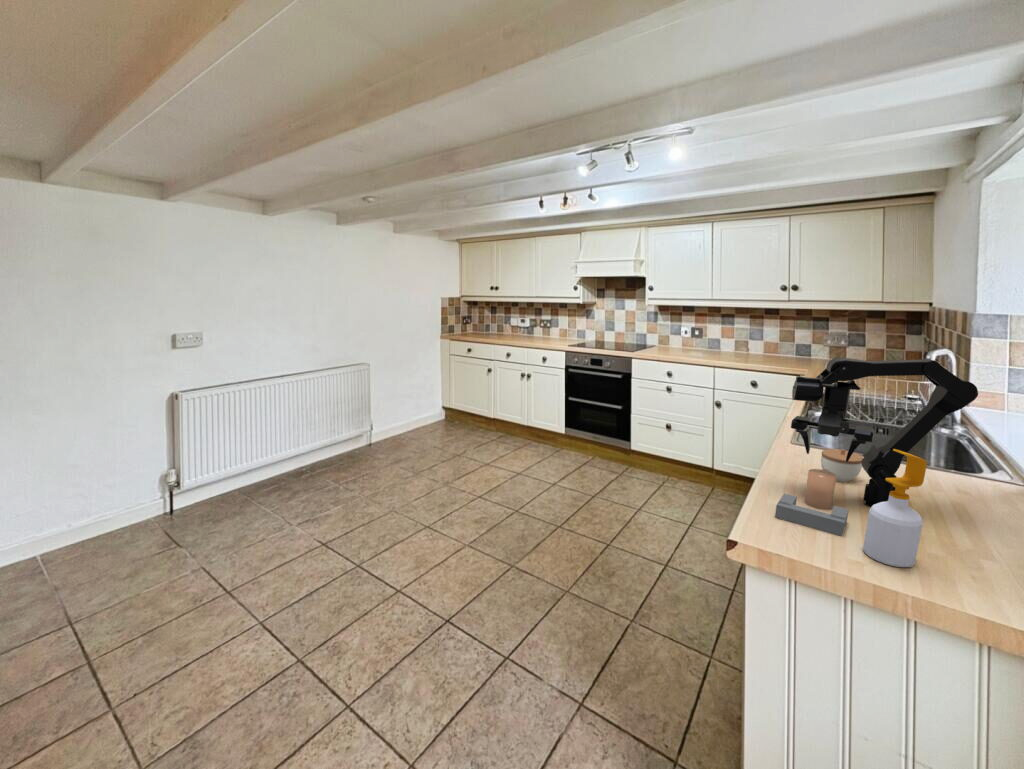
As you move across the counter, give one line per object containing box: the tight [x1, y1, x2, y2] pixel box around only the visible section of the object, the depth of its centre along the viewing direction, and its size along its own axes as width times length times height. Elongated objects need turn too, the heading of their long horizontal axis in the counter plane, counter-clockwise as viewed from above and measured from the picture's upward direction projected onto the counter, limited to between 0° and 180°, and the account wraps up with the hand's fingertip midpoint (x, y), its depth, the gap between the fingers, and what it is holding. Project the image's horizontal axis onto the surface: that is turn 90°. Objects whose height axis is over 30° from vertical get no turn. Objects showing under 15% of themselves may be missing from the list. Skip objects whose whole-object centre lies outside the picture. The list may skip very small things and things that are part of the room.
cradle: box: [774, 492, 849, 537], centre depth 119 cm, size 14×9×4 cm, turn 49°
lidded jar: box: [820, 448, 864, 483], centre depth 145 cm, size 11×11×9 cm
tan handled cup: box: [803, 468, 836, 511], centre depth 129 cm, size 6×10×9 cm, turn 139°
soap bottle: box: [862, 449, 928, 568], centre depth 101 cm, size 9×9×25 cm
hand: (826, 457), depth 131 cm, fingers open, 9 cm apart
